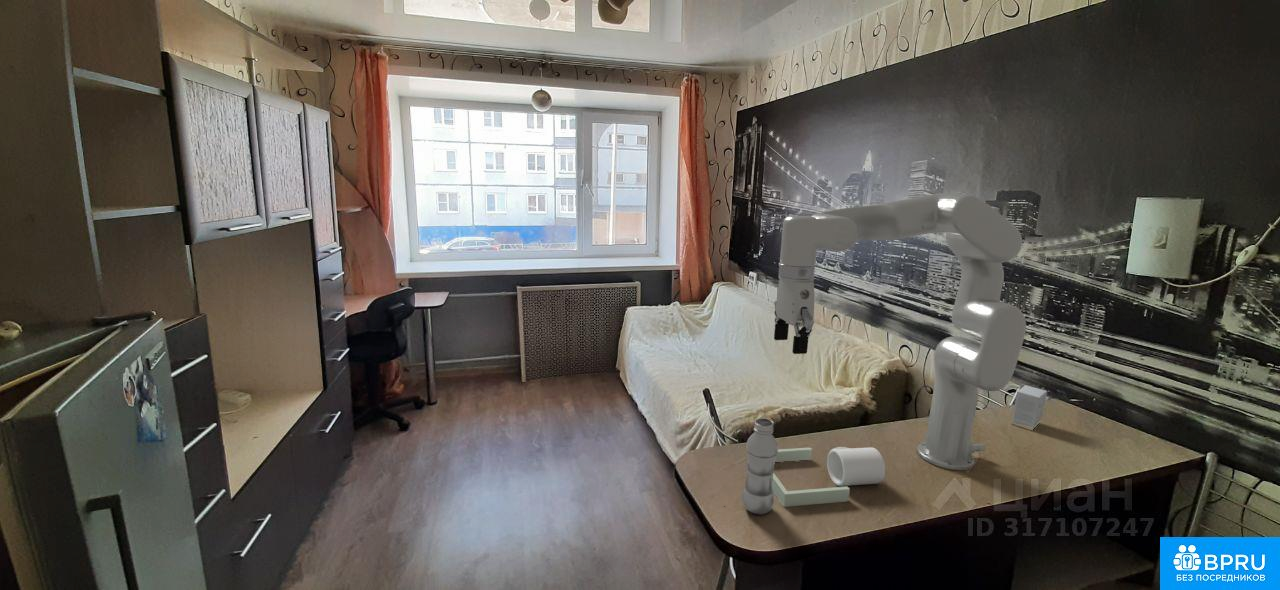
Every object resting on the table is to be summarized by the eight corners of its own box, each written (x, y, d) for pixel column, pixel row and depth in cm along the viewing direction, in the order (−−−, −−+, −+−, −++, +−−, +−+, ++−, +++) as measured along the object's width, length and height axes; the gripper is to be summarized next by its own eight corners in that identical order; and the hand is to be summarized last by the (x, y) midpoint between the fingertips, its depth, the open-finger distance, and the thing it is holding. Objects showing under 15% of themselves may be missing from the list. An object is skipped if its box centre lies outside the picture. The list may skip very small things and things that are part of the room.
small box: (1018, 417, 158) (1024, 384, 156) (1040, 423, 154) (1047, 390, 152) (1010, 424, 153) (1016, 391, 151) (1033, 431, 149) (1040, 397, 146)
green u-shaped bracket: (809, 458, 132) (810, 447, 131) (848, 501, 114) (849, 489, 114) (752, 462, 129) (753, 451, 129) (783, 506, 112) (784, 494, 111)
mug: (883, 490, 119) (887, 458, 117) (842, 493, 117) (846, 461, 116) (854, 462, 131) (858, 433, 129) (817, 464, 129) (820, 435, 127)
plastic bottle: (778, 508, 111) (786, 421, 107) (762, 523, 106) (770, 433, 102) (751, 495, 116) (758, 412, 111) (735, 509, 111) (741, 422, 106)
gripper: (832, 279, 108) (824, 358, 112) (794, 265, 124) (788, 334, 128) (798, 280, 107) (791, 359, 110) (764, 265, 123) (759, 335, 127)
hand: (789, 346), depth 119 cm, fingers open, 9 cm apart
